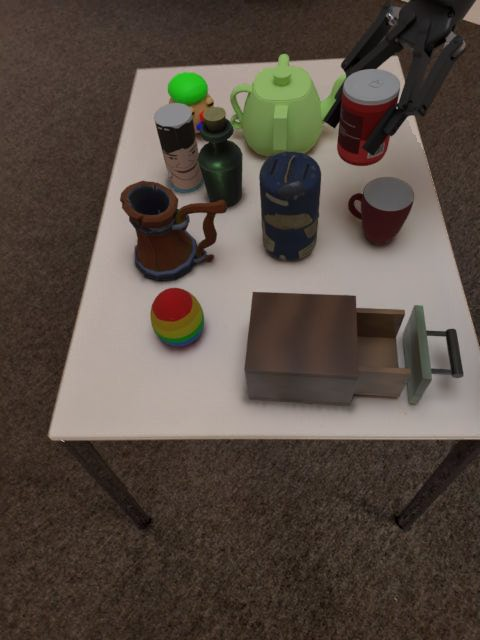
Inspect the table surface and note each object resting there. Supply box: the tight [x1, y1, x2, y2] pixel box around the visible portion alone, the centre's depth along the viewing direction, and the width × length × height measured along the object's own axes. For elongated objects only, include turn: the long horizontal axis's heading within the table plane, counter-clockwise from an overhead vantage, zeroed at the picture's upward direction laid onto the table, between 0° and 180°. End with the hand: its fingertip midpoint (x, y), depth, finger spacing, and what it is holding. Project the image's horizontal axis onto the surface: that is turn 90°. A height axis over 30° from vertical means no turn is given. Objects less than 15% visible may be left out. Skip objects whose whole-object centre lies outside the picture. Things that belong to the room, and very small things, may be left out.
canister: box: [258, 152, 322, 262], centre depth 79 cm, size 10×10×18 cm
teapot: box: [229, 53, 346, 157], centre depth 97 cm, size 19×20×14 cm
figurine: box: [167, 71, 215, 134], centre depth 101 cm, size 11×10×12 cm
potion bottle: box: [198, 106, 244, 208], centre depth 87 cm, size 8×8×18 cm
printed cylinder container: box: [153, 103, 204, 194], centre depth 91 cm, size 7×7×15 cm
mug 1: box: [119, 180, 228, 282], centre depth 80 cm, size 18×12×15 cm, turn 81°
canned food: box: [336, 68, 401, 167], centre depth 71 cm, size 8×8×11 cm
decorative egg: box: [149, 287, 205, 347], centre depth 74 cm, size 8×8×10 cm
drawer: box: [353, 304, 465, 405], centre depth 68 cm, size 18×11×8 cm, turn 84°
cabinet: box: [244, 291, 359, 406], centre depth 69 cm, size 15×13×10 cm
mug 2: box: [347, 176, 415, 245], centre depth 82 cm, size 11×8×10 cm
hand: (347, 137), depth 71 cm, fingers closed on canned food, 8 cm apart
